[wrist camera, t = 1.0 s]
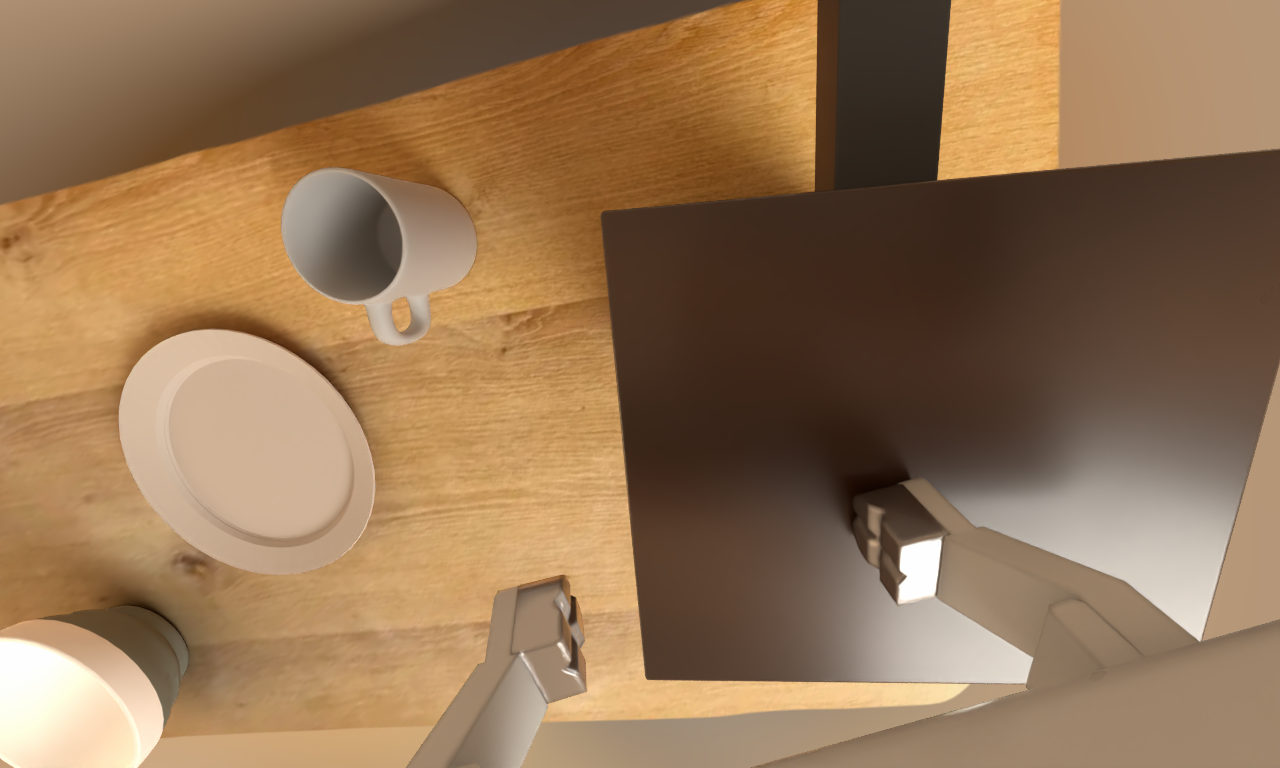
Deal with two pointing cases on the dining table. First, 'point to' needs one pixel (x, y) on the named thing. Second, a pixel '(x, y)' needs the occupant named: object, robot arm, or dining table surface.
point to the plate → (246, 451)
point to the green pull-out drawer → (879, 91)
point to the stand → (935, 400)
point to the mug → (377, 243)
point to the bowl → (88, 688)
